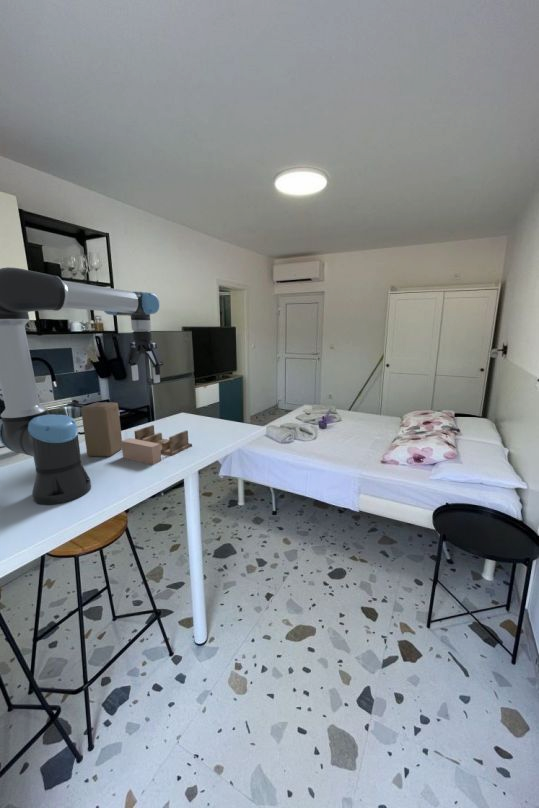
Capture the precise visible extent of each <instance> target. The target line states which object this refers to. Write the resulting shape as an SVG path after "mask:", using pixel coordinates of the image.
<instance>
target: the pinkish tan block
mask: <svg viewBox="0 0 539 808" xmlns="http://www.w3.org/2000/svg"><path fill="white" fill-rule="evenodd" d="M121 444H122V449H121V451H122V458H123V459H126V460H127V459H128V460H130V461H136V462H140V463H145V464H148V465H153V466H154V465H156V464H158V463H160V462H162V453H161V449H160V444H158V443H153V442H148V441H143V440H137V439H135V438H131V437H129V438H126V439H124V440H123V439H122V441H121Z"/></svg>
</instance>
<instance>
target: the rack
mask: <svg viewBox="0 0 539 808" xmlns="http://www.w3.org/2000/svg"><path fill="white" fill-rule="evenodd" d="M134 439H137V440H143V441H148V442H153V443H158V444H160V449H161V454H164V455H169V456H174V455H177V454H179V453H181V452H183V451H185V450H186V449H189V448H190V447H193V444H192V443H190V442H189V432H188V430H187V429H186V430H184V431H181V432H179V433H176V434H174V435H171V436H168V439H165V438H163V434H162V432H157V433H155V425H153V424H150V425H148V426H145V427H141V428H140V429H136V430H134Z"/></svg>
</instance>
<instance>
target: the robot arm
mask: <svg viewBox="0 0 539 808" xmlns="http://www.w3.org/2000/svg"><path fill="white" fill-rule="evenodd" d="M63 308H64V309H75V310H88V311H89V310H90V311H100V312H101V311H102V312H104V313H105V314H106V315H111V316H125V317H127V316H128V317H129V316H130V321H131V322H130V325H131V330H132V333H131V334H132V340H133V341H134V342H130V343H129V350H128V356H127V359H126V364H127V365H129V366H130V371H131V377H132V381H133V382H134V381H139V380H140V378H139V376H140V375H139V368H138V364H137V363H138V361H139V359H140V357H141V355H142V354H143V355H146V356H147V358H148V360H149V361H150V362H151V364H152V365H153V366H152V378H153V384H157V383H160V382H161V378H160V377H161V367H162V366H164V362H163V360H162V357H161V354H160V352H159V349H158V346H157V345H158V344H157V343H156V342H151V341H152V340H153V336H152V335H153V334H152V331H151V330H152V325H151V323H152V322H151V315H154V314H157V313H158V311H159V309H160V300H159V298H158V296H157V295H156V293H155V294H154V293H153V292H147V291H146V292H145V291H130V290H124V289H118V288H112V287H105V286H101V285H99V286H98V285H93V284H86V283H80V282H74V281H66V280H62V279H61V277H59V276H58V275H55V274H48V273H43V272H38V271H36V270H35V271H33V270H29V269H24V268H19V267H10V266H9V267H2V268H1V267H0V389H1V394H2V398H3V403H4V407H5V408H4V410H3V411H2V413H0V418H1V424H0V443H1V444H2V445H3V446H4V447H5V448H7V449H8V450H10V451H12V452H13V453H14V452H15V453H18V454H23V455H27V456H29V457H33V461H34V467H35V478H34V483H33V487H32V488H33V489H32V493H31V494H32V500H33V502H34V503H36V504H38V505H45V506H46V505H56V504H62V503H67V502H71V501H74V500H75V499H79V498H81V497H82V496H84V495H86V494H87V493H89V491H91V489H92V481H91V478H90V476H89V474H88V473H87V471H86V469H85V468H84V466H83V464H82V458H81V457H82V456H81V451H80V449H81V447H80V442H79V441H80V440H79V429H78V427H77V424H76V421H75V419H74V418H73V417H72V416H70V415H65V414H55V413H54V414H49V413H48V409H47V407H46V406H43V404H41V403H40V398H39V392H38V387H37V382H36V378H35V373H34V368H33V362H32V358H31V353H30V352H31V351H30V347H29V342H28V337H27V333H26V325H27V323H28V322H30V315H29V313H31V312H38V311H55V312H56V311H57V312H58V311H61V310H62V309H63Z"/></svg>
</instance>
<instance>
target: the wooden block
mask: <svg viewBox="0 0 539 808" xmlns="http://www.w3.org/2000/svg"><path fill="white" fill-rule="evenodd" d="M119 409H120V408H119V404H118V402H104V401H103V402H102V401H101V402H100V401H99V402H98V401H97V402H93V403H90V404H88V405H85V406H82V407H81V408H80V413H81V418H82V426H83V432H84V441H85V447H86V456H89V457H109V458H110V457H112V456H114V455H115V454H116V453H118V452H119V451H120V450H121V451H122V444H121V441H123V438H122V428H121V419H120V411H119Z"/></svg>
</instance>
